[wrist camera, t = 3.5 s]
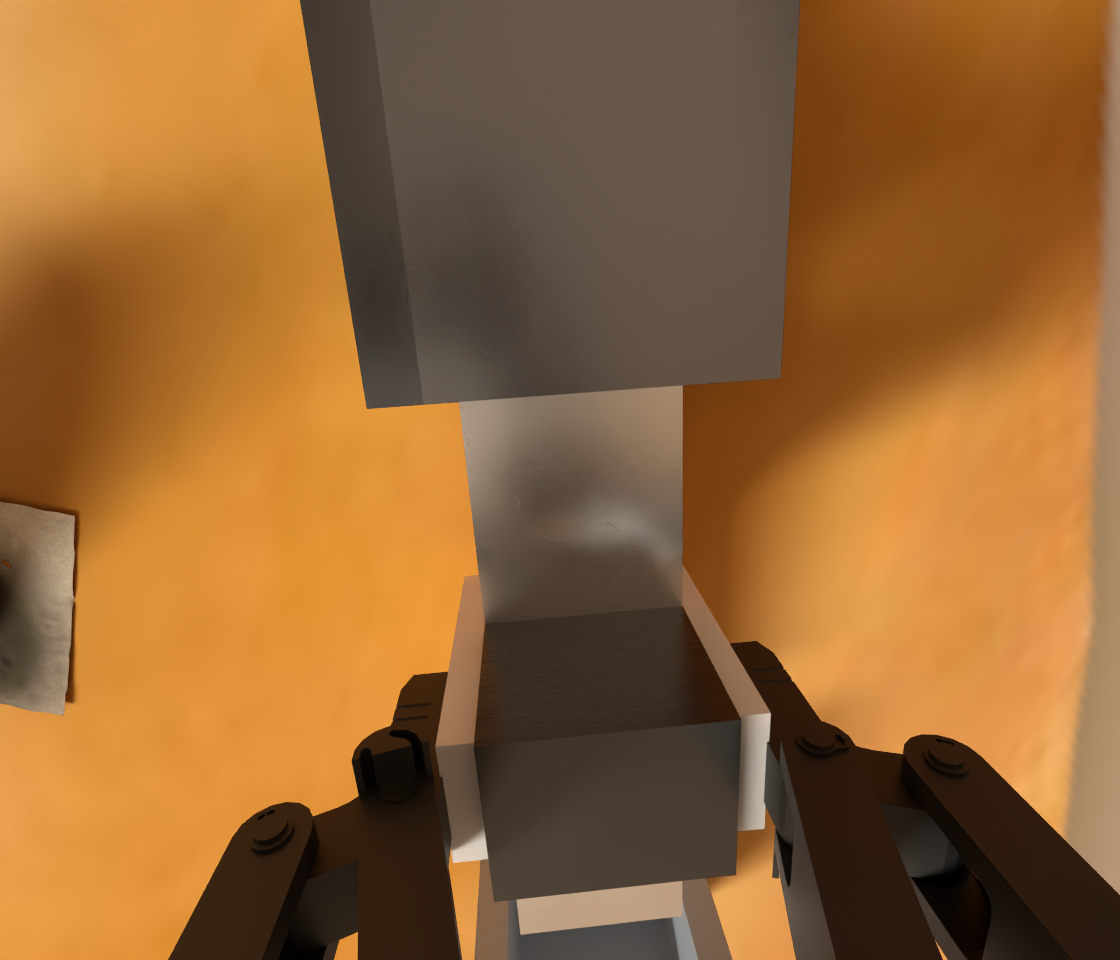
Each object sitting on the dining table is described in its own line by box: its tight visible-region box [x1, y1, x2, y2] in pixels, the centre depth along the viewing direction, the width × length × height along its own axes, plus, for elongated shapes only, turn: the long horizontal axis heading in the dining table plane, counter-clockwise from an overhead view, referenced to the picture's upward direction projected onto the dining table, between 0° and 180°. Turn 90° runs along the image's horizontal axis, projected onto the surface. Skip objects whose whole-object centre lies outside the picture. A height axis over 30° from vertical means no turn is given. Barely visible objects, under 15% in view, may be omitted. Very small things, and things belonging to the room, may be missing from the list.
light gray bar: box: [459, 385, 742, 935], centre depth 14 cm, size 22×4×9 cm, turn 4°
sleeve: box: [300, 0, 800, 409], centre depth 13 cm, size 9×8×7 cm
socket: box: [475, 859, 732, 960], centre depth 21 cm, size 6×8×6 cm
